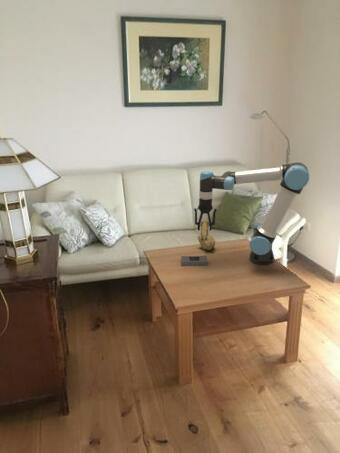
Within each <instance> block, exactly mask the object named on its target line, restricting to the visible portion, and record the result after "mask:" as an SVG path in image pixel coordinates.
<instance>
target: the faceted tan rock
mask: <svg viewBox="0 0 340 453" xmlns="http://www.w3.org/2000/svg"><path fill="white" fill-rule="evenodd" d="M196 237H197V240H198V242H199V244H200V247H201V248H202V250H205V251H210V250H212V249H215V247H216V240H215V239H214V237H213V235H211V234H209V236H208V240H207V241H202V240H201V236H199V235H197V236H196Z"/></svg>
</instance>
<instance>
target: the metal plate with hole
mask: <svg viewBox="0 0 340 453" xmlns="http://www.w3.org/2000/svg"><path fill="white" fill-rule="evenodd" d="M180 261H181V266H182V267H185V266H186V267H189V266H191V267H192V266H193V267H195V266H197V267H198V266H200V267H201V266H209V259H208V256H207V255H181V256H180Z"/></svg>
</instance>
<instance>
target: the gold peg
mask: <svg viewBox="0 0 340 453" xmlns="http://www.w3.org/2000/svg"><path fill="white" fill-rule="evenodd" d="M200 225H201V240H202V241H207V240H208V225H209V221H208V220H207V221H206V220H201V223H200Z"/></svg>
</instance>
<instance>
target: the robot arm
mask: <svg viewBox="0 0 340 453" xmlns="http://www.w3.org/2000/svg"><path fill="white" fill-rule="evenodd" d="M275 181H276V182H277V181H280V184H279V187H280V189H279V192H278V193H277V195H276V196H275V199H274V201H273V203H272V205H271V207H270V209H269V211H268V212H267V213H266V216H265V218H264V220H263V222H262V223H261V222H260V223H255V224H254V225H253V233H252V235H251V238H250V240H249V247H250V252H249V256H248V259H249V261H250V262H251V263H254V264H257V265H270V264H272V263H274V262H275V254H274V251H273V243H274V241H275V240H276V238H277V233H276V232H277V230H278V228H279V226H281V223H282V222H283V220H284V217H285V216H286V214H287V212H288V211H289V208H290V207H291V204H292V203H293V201H294V199H295V198H296V197H297V196H299V195H301V192H302V191H303V190H304V188H305V187H306V186H307V185H308V182H309V181H310V173H309V169H308V167H307V166H306V165H305V164H304V163H302V162H292V163H287V164H280V166H273V167H265V168H264V167H263V168H255V169H247V170H245V169H244V170H239V171H238V170H237V171H231V170H230V171H229V170H228V171H225V172H224V173H223V174H222V175H214V172H213V171H209V170H204V171H201V172H200V173H199V198H198V206H197V207H193V210H194V225H195V226H197V231H198V234H199V235H198V236H201V222H202V221H203V220H202V218H203V215H204V214H207V217H208V218H207V219H208V220H207V221H208V222H209V223H208V236H209V235H210V232H211V231H212V226H215V223H216V213H217V210H218V209H217V208H216V207H214V206H213V189H214V190H224V191H233V190H234V187H235V185H240V184H241V185H242V184H252V183H254V184H255V183H263V182H264V183H265V182H275ZM199 211H200V213H199V214H200V215H199V217H198V212H199ZM211 211H212V220H211V215H210V212H211Z"/></svg>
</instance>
